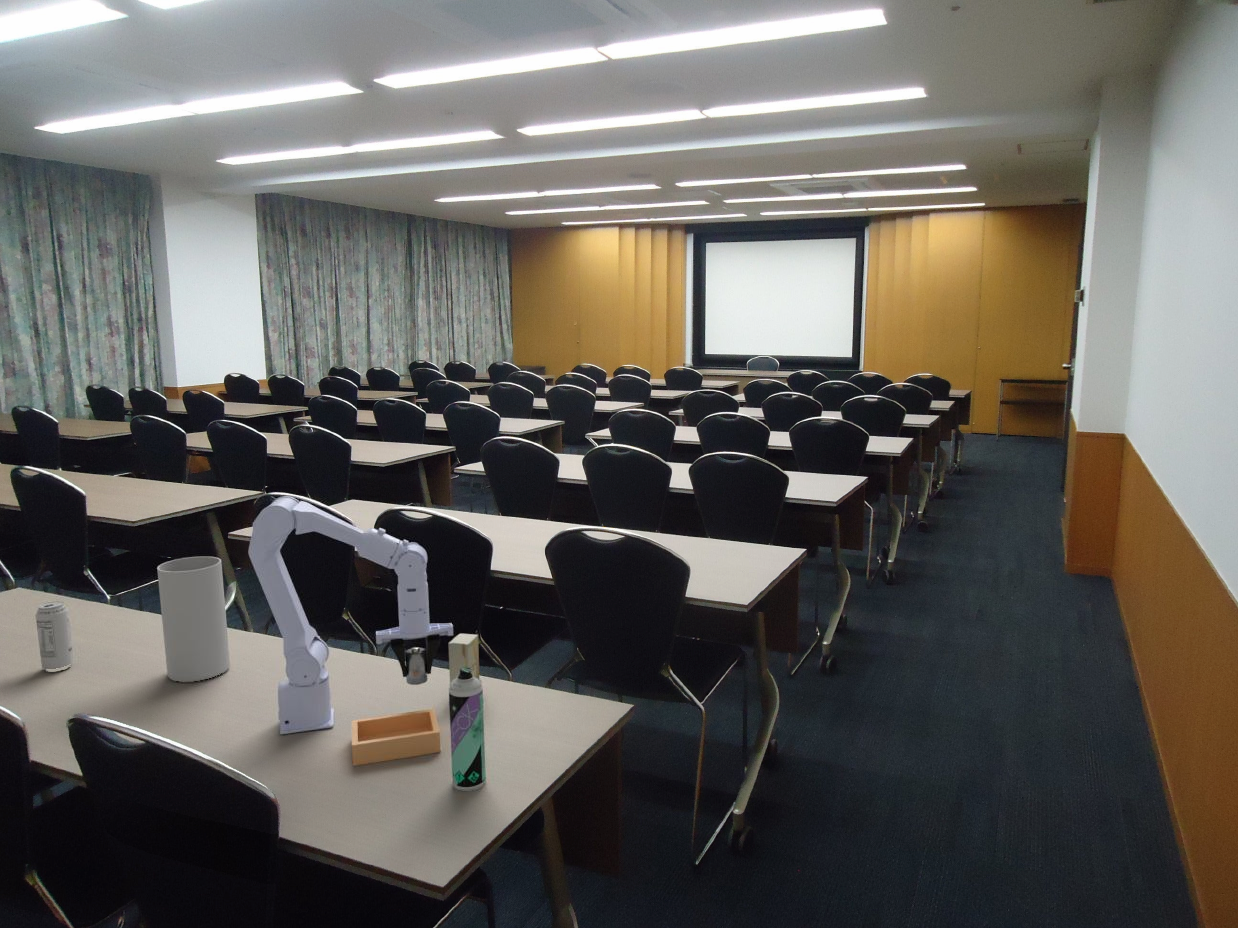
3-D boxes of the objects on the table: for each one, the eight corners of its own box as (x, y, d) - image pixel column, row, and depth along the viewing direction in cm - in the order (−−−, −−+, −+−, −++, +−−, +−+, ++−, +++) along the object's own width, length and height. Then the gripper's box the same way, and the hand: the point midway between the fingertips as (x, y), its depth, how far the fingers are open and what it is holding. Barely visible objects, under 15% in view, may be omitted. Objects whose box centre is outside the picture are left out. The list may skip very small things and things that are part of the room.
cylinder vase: (234, 674, 184) (225, 565, 180) (171, 688, 177) (160, 575, 173) (225, 657, 194) (216, 553, 191) (164, 669, 188) (154, 562, 184)
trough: (353, 765, 145) (351, 745, 144) (352, 739, 154) (351, 720, 154) (440, 751, 149) (439, 732, 149) (435, 727, 159) (434, 708, 158)
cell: (407, 685, 161) (405, 653, 160) (405, 677, 165) (404, 646, 164) (428, 683, 162) (426, 650, 161) (426, 675, 166) (425, 643, 165)
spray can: (454, 774, 142) (449, 663, 139) (487, 772, 142) (483, 661, 139) (450, 792, 136) (445, 676, 133) (484, 790, 137) (480, 675, 134)
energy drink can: (79, 666, 190) (72, 603, 187) (50, 675, 185) (42, 610, 182) (66, 661, 193) (59, 598, 191) (37, 669, 188) (29, 606, 186)
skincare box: (469, 701, 170) (467, 644, 168) (449, 700, 171) (447, 643, 169) (480, 688, 176) (478, 633, 174) (461, 687, 177) (459, 632, 175)
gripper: (449, 597, 167) (451, 661, 169) (374, 604, 163) (377, 670, 165) (453, 607, 161) (455, 674, 163) (375, 616, 156) (379, 684, 158)
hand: (416, 673), depth 163 cm, fingers closed on cell, 4 cm apart
